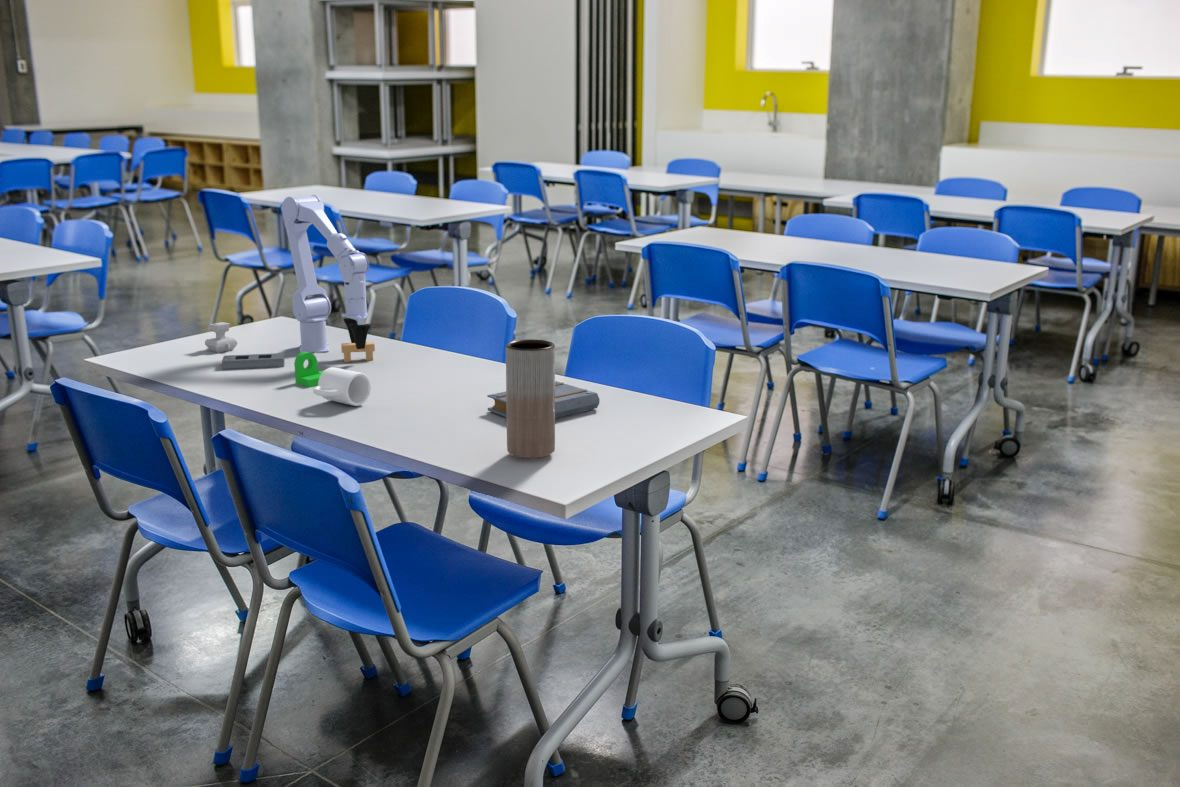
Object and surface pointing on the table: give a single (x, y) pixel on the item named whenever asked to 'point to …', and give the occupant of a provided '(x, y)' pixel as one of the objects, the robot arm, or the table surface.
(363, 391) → the mug
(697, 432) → the table surface
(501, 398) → the book
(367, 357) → the tan wooden block
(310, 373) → the mechanical part
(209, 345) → the stamp
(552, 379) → the planter
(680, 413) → the table surface
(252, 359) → the grey flat block
